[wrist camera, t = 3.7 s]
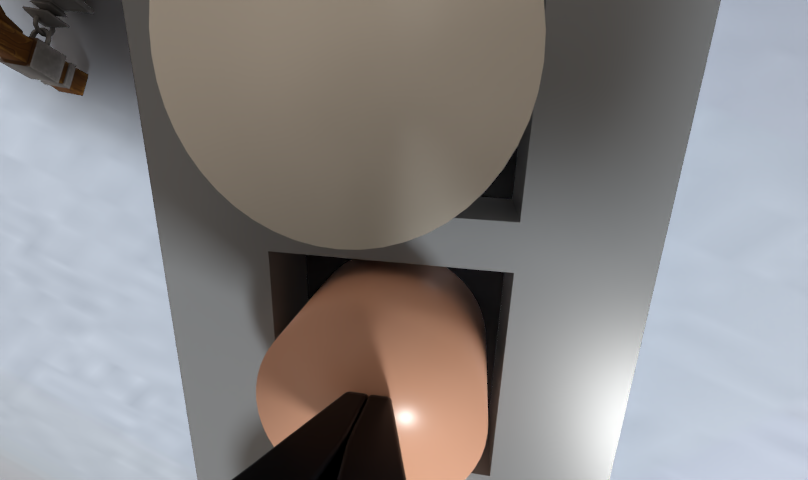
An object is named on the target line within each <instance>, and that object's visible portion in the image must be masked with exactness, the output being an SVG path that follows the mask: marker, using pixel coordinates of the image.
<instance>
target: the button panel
mask: <svg viewBox="0 0 808 480" xmlns="http://www.w3.org/2000/svg"><path fill="white" fill-rule="evenodd" d="M720 1H721V0H544V9H545V24H546V37H545V54H544V65H543V70H542V75H541V81H540V86H539V92H538V95H537V98H536V101H535V104H534V107H533V111H532V114H531V117H530V120H529V122H528V124H527V127H526V129H525V131H524V133H523V135H522V137H521V140H520V142H519V144H518V152H517V161H516V170H515V179H514V188H513V197H512V199H505V198H489V197H478V198H477V199H476V200H475V201H474V202H473V203H472V204H471V205H470V206H469V207H468V208H467V209H465V210H464V211H462V212H461V213H460V214H458V215H457V216H456V217H454V218H453V219H451V220H450V221H449V222H447V223H445V224H443V225H442V226H440V227H438V228H436V229H434V230H433V231H431V232H429V233H427V234H425V235H422V236H419V237H417V238H414V239H412V240H409V241H406V242H403V243H399V244H395V245H391V246H387V247H382V248H373V249H364V250H344V249H332V248H326V247H319V246H314V245H310V244H307V243H303V242H300V241H296V240H293V239H291V238H288V237H286V236H283V235H281V234H279V233H276V232H274V231H272V230H270V229H268V228H267V227H265V226H263V225H261V224H259V223H258V222H256V221H254V220H253V219H251V218H250V217H248V216H247V215H246V214H244V213H243V212H242V211H240V210H239V209H237V208H236V207H235V206H234V205H232V204H231V203H230V202H229V201H228V200H227V199H226V198H225V197H224V196H223V195H221V194H220V193H219V192H218V191H217V190H216V189H215V188H214V186H213V185H212V184H211V183H210V182H209V181H208V180H207V178H206V177H205V176H204V175H203V174H202V173H201V171H200V170H199V169H198V167H197V166H196V164H195V163H194V162H193V160H192V159H191V157H190V156H189V154H188V153H187V151H186V150H185V148H184V146H183V144H182V143H181V141H180V139H179V137H178V135H177V134H176V132H175V130H174V128H173V125H172V123H171V121H170V118H169V116H168V114H167V111H166V109H165V107H164V103H163V100H162V97H161V94H160V90H159V87H158V84H157V80H156V75H155V70H154V65H153V60H152V55H151V44H150V33H149V0H122V6H123V12H124V19H125V25H126V31H127V38H128V44H129V50H130V57H131V63H132V69H133V76H134V82H135V88H136V94H137V101H138V107H139V113H140V120H141V126H142V132H143V139H144V145H145V151H146V157H147V164H148V170H149V176H150V183H151V189H152V195H153V202H154V208H155V214H156V221H157V227H158V233H159V239H160V246H161V252H162V258H163V265H164V271H165V277H166V284H167V290H168V296H169V303H170V309H171V315H172V321H173V328H174V334H175V340H176V347H177V353H178V359H179V366H180V372H181V378H182V385H183V391H184V397H185V403H186V410H187V416H188V422H189V429H190V435H191V441H192V448H193V454H194V460H195V467H196V473H197V479H198V480H232V479H233V478H234V477H235V476H237V475H238V474H239V473H241V472H242V471H243V470H245V469H246V468H247V467H249V466H250V465H251V464H252V463H254V462H255V461H256V460H258V459H259V458H260V457H262V456H263V455H264V454H266V453H267V452H268V451H269V450H271V449H272V448H273V447H274V446H273V445H272V443H271V441H270V440H269V438H268V436H267V434H266V432H265V430H264V428H263V425H262V423H261V419H260V416H259V413H258V408H257V402H256V383H257V376H258V372H259V369H260V365H261V363H262V360H263V358H264V356H265V354H266V352H267V351H268V349H269V348H270V347H271V345H272V344H273V342H274V341H275V340H276V339H277V338H278V336H279V335H280V334H281V333H282V332H283V331H284V329H285V328H286V327H287V326H288V325H289V323H290V322H291V321H292V320H293V319H294V318H295V316H296V315H297V314H298V313H299V312H300V311H301V309H302V308H303V307H304V306H305V305H306V303H307V302H308V283H307V261H306V255H317V256H328V257H339V258H351V259H362V260H373V261H385V262H396V263H407V264H418V265H430V266H441V267H452V268H464V269H475V270H486V271H498V272H504V279H503V288H502V297H501V306H500V315H499V324H498V333H497V342H496V351H495V360H494V369H493V378H492V387H491V396H490V405H489V414H488V434H487V439H486V444H485V448H484V450H483V453H482V456H481V458H480V460H479V462H478V463H477V465H476V467H475V468H474V470H473V471H472V472H471V473H470V475H469V476H468V477H467V478H466V479H465V480H609V479H610V475H611V471H612V466H613V462H614V458H615V453H616V449H617V445H618V440H619V436H620V432H621V428H622V423H623V419H624V415H625V410H626V406H627V402H628V397H629V393H630V389H631V385H632V380H633V376H634V372H635V367H636V363H637V359H638V354H639V350H640V346H641V341H642V337H643V333H644V329H645V324H646V320H647V316H648V311H649V307H650V303H651V298H652V294H653V290H654V286H655V281H656V277H657V273H658V268H659V264H660V260H661V255H662V251H663V247H664V242H665V238H666V234H667V230H668V225H669V221H670V217H671V212H672V208H673V204H674V199H675V195H676V191H677V187H678V182H679V178H680V174H681V169H682V165H683V161H684V156H685V152H686V148H687V144H688V139H689V135H690V131H691V126H692V122H693V118H694V113H695V109H696V105H697V100H698V96H699V92H700V88H701V83H702V79H703V75H704V70H705V66H706V62H707V57H708V53H709V49H710V45H711V40H712V36H713V32H714V27H715V23H716V19H717V14H718V10H719V6H720Z"/></svg>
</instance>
